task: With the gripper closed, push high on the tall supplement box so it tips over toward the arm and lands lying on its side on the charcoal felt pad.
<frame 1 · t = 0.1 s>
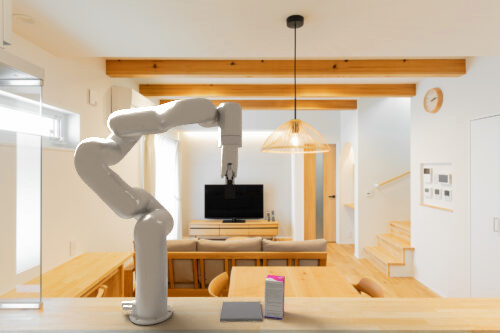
hand: (230, 197, 97), 37 cm above the worktop, tool pointing down, fingers open, 9 cm apart
supplement box: (274, 315, 97), on the worktop
felt pad: (241, 312, 98), on the worktop
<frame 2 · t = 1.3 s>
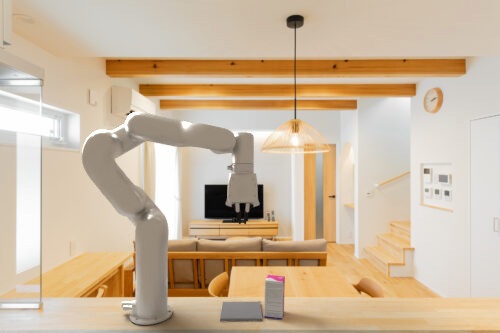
hand: (242, 223, 105), 27 cm above the worktop, tool pointing down, fingers closed
nothing on the worktop moved.
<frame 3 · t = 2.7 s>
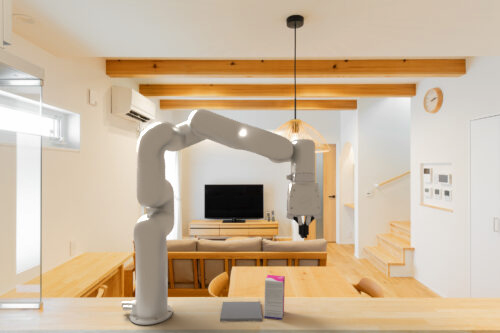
hand: (303, 237, 97), 24 cm above the worktop, tool pointing down, fingers closed
nothing on the worktop moved.
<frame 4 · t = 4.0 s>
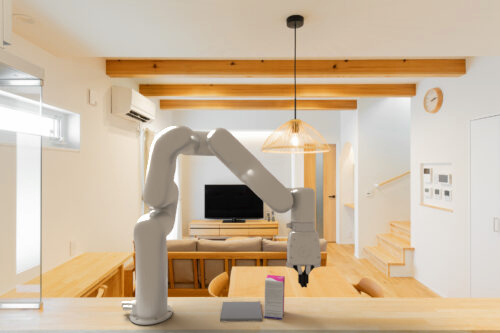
hand: (303, 285, 97), 9 cm above the worktop, tool pointing down, fingers closed
nothing on the worktop moved.
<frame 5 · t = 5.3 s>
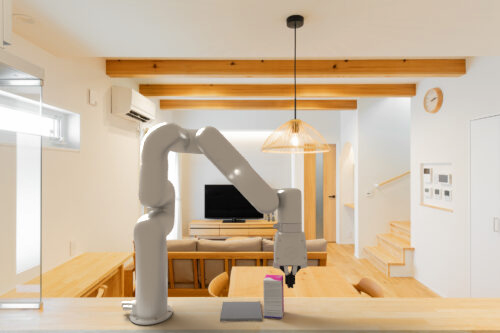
hand: (290, 286, 97), 9 cm above the worktop, tool pointing down, fingers closed
supplement box: (274, 315, 97), on the worktop, touching gripper
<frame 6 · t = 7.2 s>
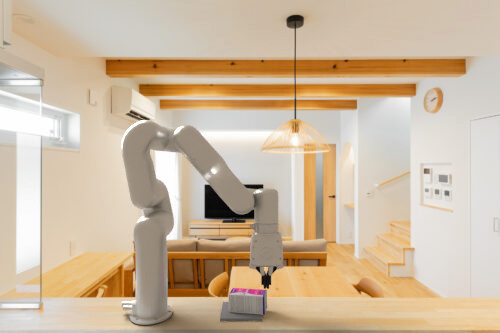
hand: (266, 287, 97), 9 cm above the worktop, tool pointing down, fingers closed
supplement box: (266, 301, 97), point 4 cm above the worktop, touching felt pad
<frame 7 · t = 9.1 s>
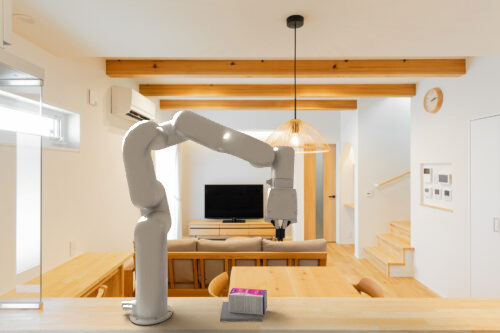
hand: (279, 240, 101), 22 cm above the worktop, tool pointing down, fingers closed
nothing on the worktop moved.
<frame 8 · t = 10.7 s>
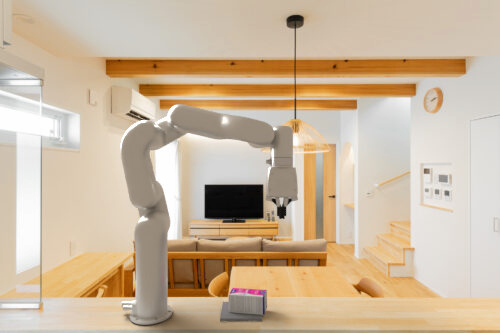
hand: (281, 218, 103), 29 cm above the worktop, tool pointing down, fingers closed
nothing on the worktop moved.
at the end: supplement box tilted 92°; supplement box inside the target area (5.9 cm from its centre), point 3.8 cm above the worktop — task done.
